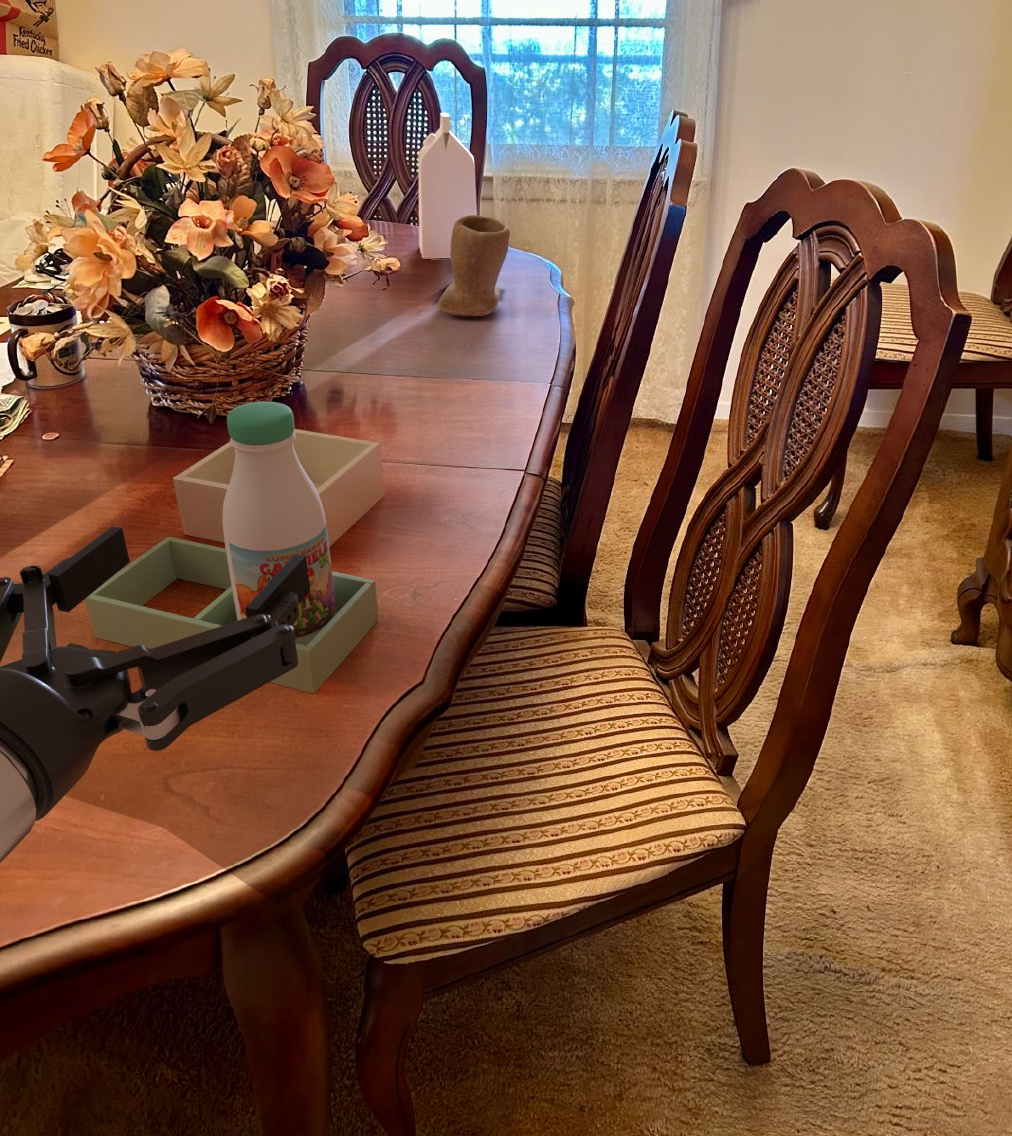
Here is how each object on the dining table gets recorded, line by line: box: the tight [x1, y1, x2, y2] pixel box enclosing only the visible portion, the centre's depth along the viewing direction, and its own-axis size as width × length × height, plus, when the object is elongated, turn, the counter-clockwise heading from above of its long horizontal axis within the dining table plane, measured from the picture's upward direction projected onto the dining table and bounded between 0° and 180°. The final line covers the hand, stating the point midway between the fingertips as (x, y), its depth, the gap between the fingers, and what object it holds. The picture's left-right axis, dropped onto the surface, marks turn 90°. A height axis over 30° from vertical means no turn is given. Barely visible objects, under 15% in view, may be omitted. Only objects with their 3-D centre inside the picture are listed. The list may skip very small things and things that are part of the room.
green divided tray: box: [84, 536, 379, 695], centre depth 77 cm, size 21×11×4 cm, turn 70°
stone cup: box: [437, 214, 511, 317], centre depth 155 cm, size 15×12×15 cm
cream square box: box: [172, 428, 385, 548], centre depth 93 cm, size 15×15×6 cm
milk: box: [417, 112, 478, 258], centre depth 188 cm, size 12×12×26 cm
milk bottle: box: [223, 401, 336, 646], centre depth 71 cm, size 8×8×20 cm
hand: (210, 557), depth 62 cm, fingers open, 13 cm apart
